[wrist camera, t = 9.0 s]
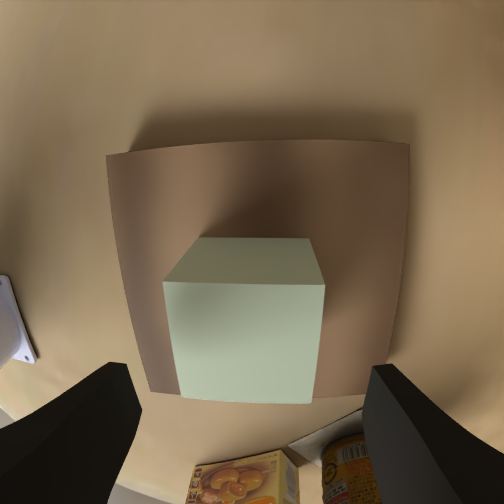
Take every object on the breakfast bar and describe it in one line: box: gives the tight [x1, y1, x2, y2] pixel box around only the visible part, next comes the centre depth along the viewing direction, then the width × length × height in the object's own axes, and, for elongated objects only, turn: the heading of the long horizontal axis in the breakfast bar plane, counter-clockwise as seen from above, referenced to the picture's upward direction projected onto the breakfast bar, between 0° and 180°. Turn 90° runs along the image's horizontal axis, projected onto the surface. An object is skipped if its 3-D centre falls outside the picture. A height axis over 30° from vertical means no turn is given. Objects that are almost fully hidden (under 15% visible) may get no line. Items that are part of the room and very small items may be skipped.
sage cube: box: [162, 237, 325, 404], centre depth 13 cm, size 5×5×5 cm
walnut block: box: [106, 139, 410, 398], centre depth 17 cm, size 14×14×3 cm
